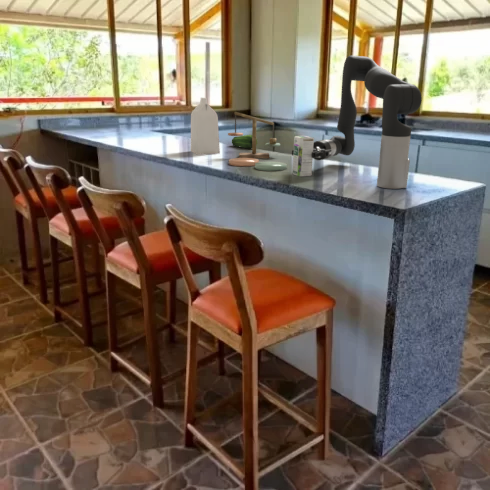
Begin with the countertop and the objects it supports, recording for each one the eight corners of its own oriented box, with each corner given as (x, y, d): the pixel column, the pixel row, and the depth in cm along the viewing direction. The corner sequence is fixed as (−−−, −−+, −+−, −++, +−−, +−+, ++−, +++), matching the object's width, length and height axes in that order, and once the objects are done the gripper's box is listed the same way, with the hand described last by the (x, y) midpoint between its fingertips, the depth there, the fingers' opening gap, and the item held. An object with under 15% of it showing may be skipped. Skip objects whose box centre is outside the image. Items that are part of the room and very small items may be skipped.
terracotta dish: (258, 161, 212) (258, 157, 211) (259, 166, 200) (259, 162, 199) (229, 161, 212) (229, 157, 211) (228, 166, 199) (228, 162, 199)
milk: (219, 153, 234) (219, 98, 226) (197, 154, 230) (195, 98, 222) (212, 150, 245) (211, 97, 236) (190, 151, 241) (188, 97, 232)
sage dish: (285, 165, 203) (285, 161, 202) (288, 170, 190) (288, 166, 190) (254, 165, 202) (254, 161, 202) (255, 170, 190) (255, 166, 190)
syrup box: (291, 174, 184) (293, 135, 179) (305, 173, 186) (307, 135, 181) (298, 176, 179) (300, 137, 174) (312, 175, 181) (314, 137, 176)
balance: (279, 156, 227) (280, 111, 220) (280, 158, 221) (282, 112, 214) (228, 155, 227) (228, 111, 220) (227, 158, 220) (227, 112, 213)
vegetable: (251, 133, 244) (230, 130, 260) (246, 146, 245) (225, 142, 260) (261, 139, 249) (239, 135, 264) (256, 152, 249) (235, 148, 265)
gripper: (308, 138, 195) (287, 142, 182) (340, 141, 186) (319, 145, 174) (307, 157, 197) (286, 162, 185) (338, 160, 189) (318, 166, 177)
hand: (302, 154), depth 179 cm, fingers open, 8 cm apart
